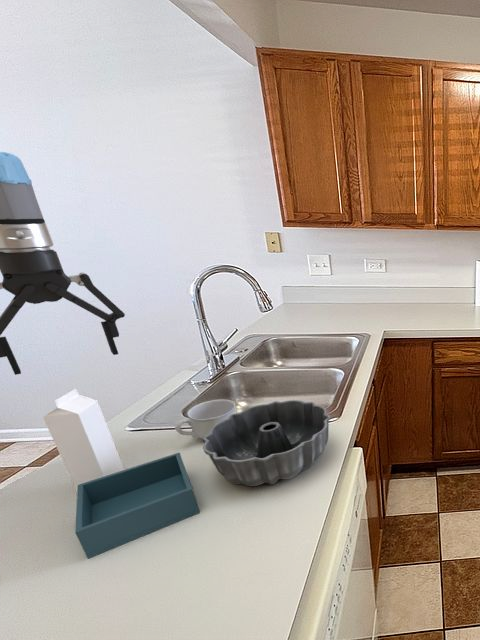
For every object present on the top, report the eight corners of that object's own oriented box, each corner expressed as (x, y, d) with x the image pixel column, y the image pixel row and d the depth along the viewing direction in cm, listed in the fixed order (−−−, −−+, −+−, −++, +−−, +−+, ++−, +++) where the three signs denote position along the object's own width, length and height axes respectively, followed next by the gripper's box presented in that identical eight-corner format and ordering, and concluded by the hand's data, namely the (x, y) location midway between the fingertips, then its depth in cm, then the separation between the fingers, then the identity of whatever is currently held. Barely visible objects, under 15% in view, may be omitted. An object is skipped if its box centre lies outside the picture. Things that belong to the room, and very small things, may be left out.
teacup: (235, 419, 114) (228, 395, 111) (246, 434, 107) (240, 408, 104) (176, 438, 105) (168, 411, 102) (184, 455, 98) (175, 427, 95)
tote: (88, 508, 81) (77, 484, 78) (186, 474, 91) (179, 452, 89) (87, 558, 69) (75, 532, 67) (200, 512, 80) (192, 488, 77)
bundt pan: (306, 501, 83) (299, 461, 79) (184, 498, 84) (171, 458, 80) (349, 433, 107) (345, 400, 104) (254, 431, 108) (247, 399, 105)
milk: (126, 473, 91) (93, 386, 83) (109, 490, 86) (73, 399, 78) (95, 476, 90) (59, 389, 82) (76, 494, 84) (35, 402, 77)
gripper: (-98, 257, 58) (-32, 388, 66) (121, 246, 76) (153, 350, 84) (-93, 253, 63) (-31, 376, 70) (113, 243, 80) (144, 342, 88)
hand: (69, 362), depth 77 cm, fingers open, 13 cm apart
